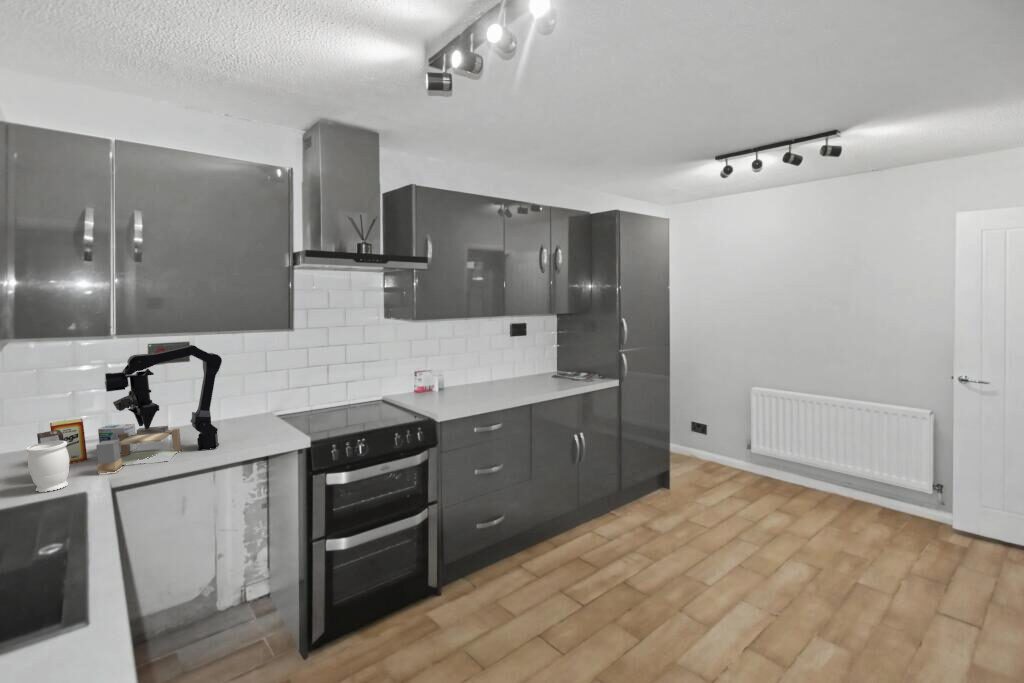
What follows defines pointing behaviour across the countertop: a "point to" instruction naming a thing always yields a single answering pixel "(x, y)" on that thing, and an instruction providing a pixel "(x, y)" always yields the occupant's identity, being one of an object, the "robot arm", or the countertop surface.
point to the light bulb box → (116, 433)
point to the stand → (133, 457)
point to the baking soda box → (72, 438)
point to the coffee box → (50, 436)
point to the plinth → (109, 466)
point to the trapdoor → (147, 435)
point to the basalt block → (108, 451)
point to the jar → (49, 465)
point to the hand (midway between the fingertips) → (144, 427)
